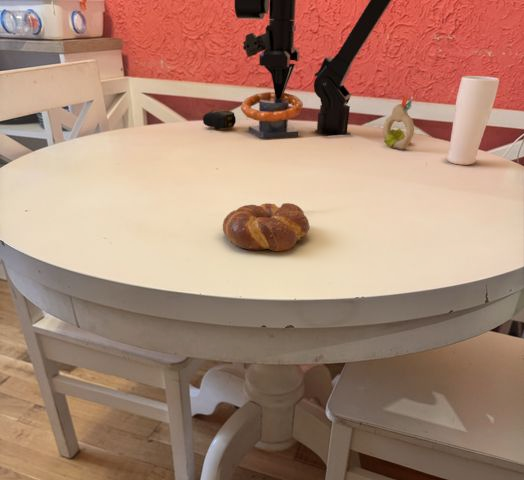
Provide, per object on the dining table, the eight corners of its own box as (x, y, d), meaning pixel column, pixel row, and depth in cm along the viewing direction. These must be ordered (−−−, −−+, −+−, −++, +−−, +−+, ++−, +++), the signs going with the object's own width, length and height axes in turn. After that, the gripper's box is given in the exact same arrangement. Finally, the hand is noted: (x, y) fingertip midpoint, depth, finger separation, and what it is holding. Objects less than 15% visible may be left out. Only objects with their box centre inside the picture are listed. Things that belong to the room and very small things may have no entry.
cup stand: (281, 129, 124) (283, 97, 120) (298, 136, 117) (300, 102, 113) (248, 131, 121) (248, 98, 117) (263, 139, 114) (264, 104, 110)
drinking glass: (462, 157, 104) (482, 75, 96) (485, 165, 99) (508, 79, 90) (435, 159, 102) (453, 76, 93) (457, 167, 97) (478, 80, 88)
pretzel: (267, 215, 72) (268, 189, 69) (328, 236, 65) (331, 208, 63) (204, 236, 64) (202, 208, 62) (265, 262, 58) (266, 232, 56)
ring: (289, 96, 122) (289, 87, 121) (311, 117, 113) (311, 108, 112) (234, 104, 120) (234, 95, 118) (252, 126, 110) (251, 117, 109)
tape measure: (201, 128, 122) (201, 112, 120) (219, 124, 127) (219, 108, 125) (223, 132, 119) (223, 115, 117) (241, 128, 123) (240, 111, 121)
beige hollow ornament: (428, 149, 110) (440, 90, 103) (399, 152, 106) (409, 92, 100) (405, 142, 115) (414, 86, 108) (377, 145, 112) (385, 87, 105)
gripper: (255, 18, 120) (254, 91, 129) (236, 19, 105) (236, 101, 113) (301, 20, 118) (297, 93, 127) (288, 21, 103) (285, 104, 112)
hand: (279, 98), depth 120 cm, fingers closed on ring, 2 cm apart
